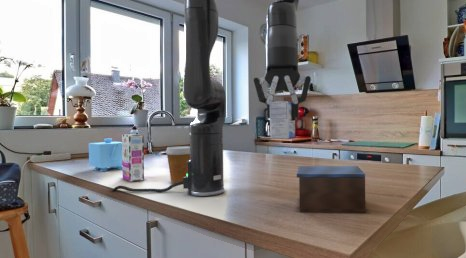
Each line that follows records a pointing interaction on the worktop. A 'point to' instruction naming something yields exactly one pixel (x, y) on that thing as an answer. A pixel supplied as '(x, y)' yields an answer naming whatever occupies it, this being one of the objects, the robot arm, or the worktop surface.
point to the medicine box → (281, 120)
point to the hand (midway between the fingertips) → (283, 120)
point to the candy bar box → (133, 157)
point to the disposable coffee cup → (178, 162)
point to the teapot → (105, 155)
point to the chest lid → (330, 171)
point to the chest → (332, 194)
